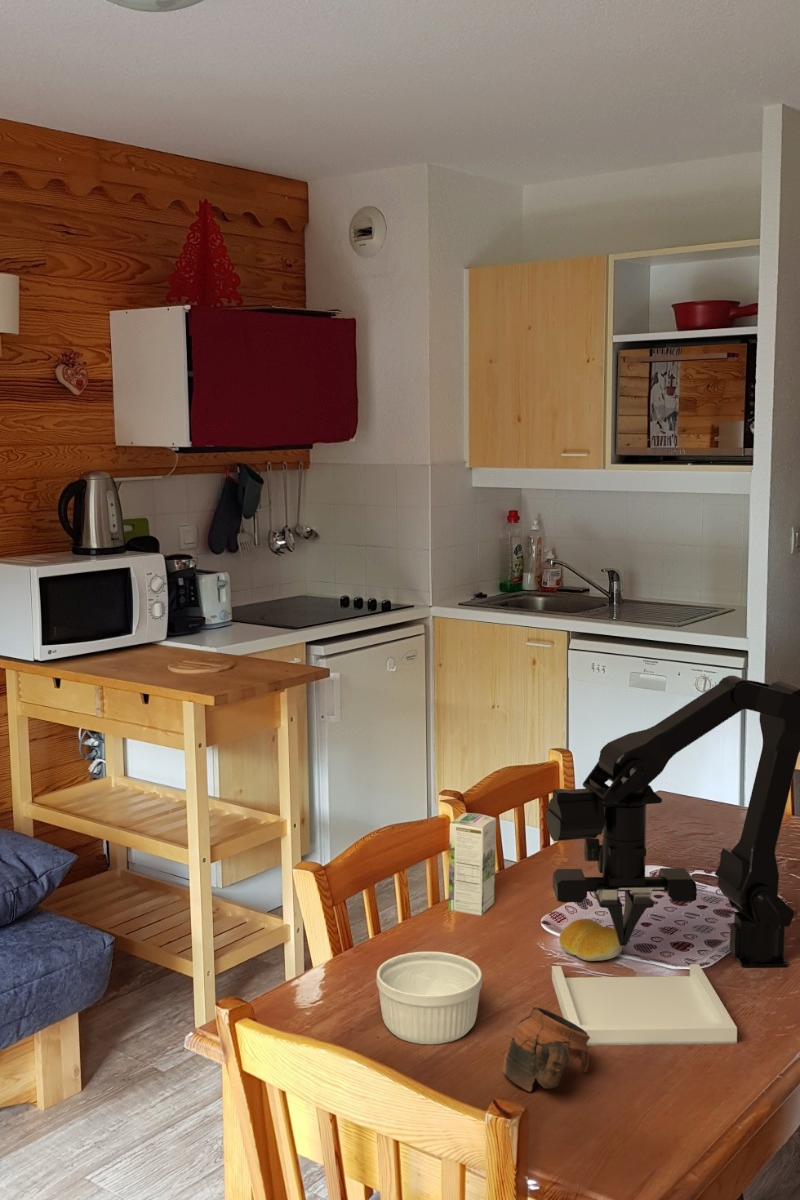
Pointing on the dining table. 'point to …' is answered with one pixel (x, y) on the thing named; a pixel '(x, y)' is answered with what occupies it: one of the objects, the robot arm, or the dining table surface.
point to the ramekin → (429, 996)
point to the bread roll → (590, 940)
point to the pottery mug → (543, 1049)
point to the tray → (645, 1009)
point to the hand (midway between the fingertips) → (622, 944)
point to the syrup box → (472, 863)
